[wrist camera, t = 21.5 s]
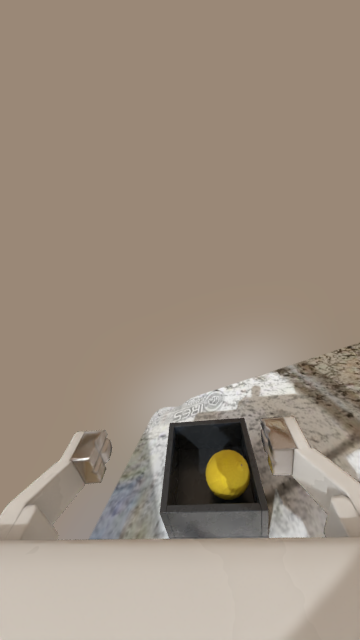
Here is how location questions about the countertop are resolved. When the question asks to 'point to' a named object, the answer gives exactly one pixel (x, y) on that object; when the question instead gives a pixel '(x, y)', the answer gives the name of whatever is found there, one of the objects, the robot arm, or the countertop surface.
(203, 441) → the dark gray open box
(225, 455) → the lemon
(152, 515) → the countertop surface
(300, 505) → the countertop surface
